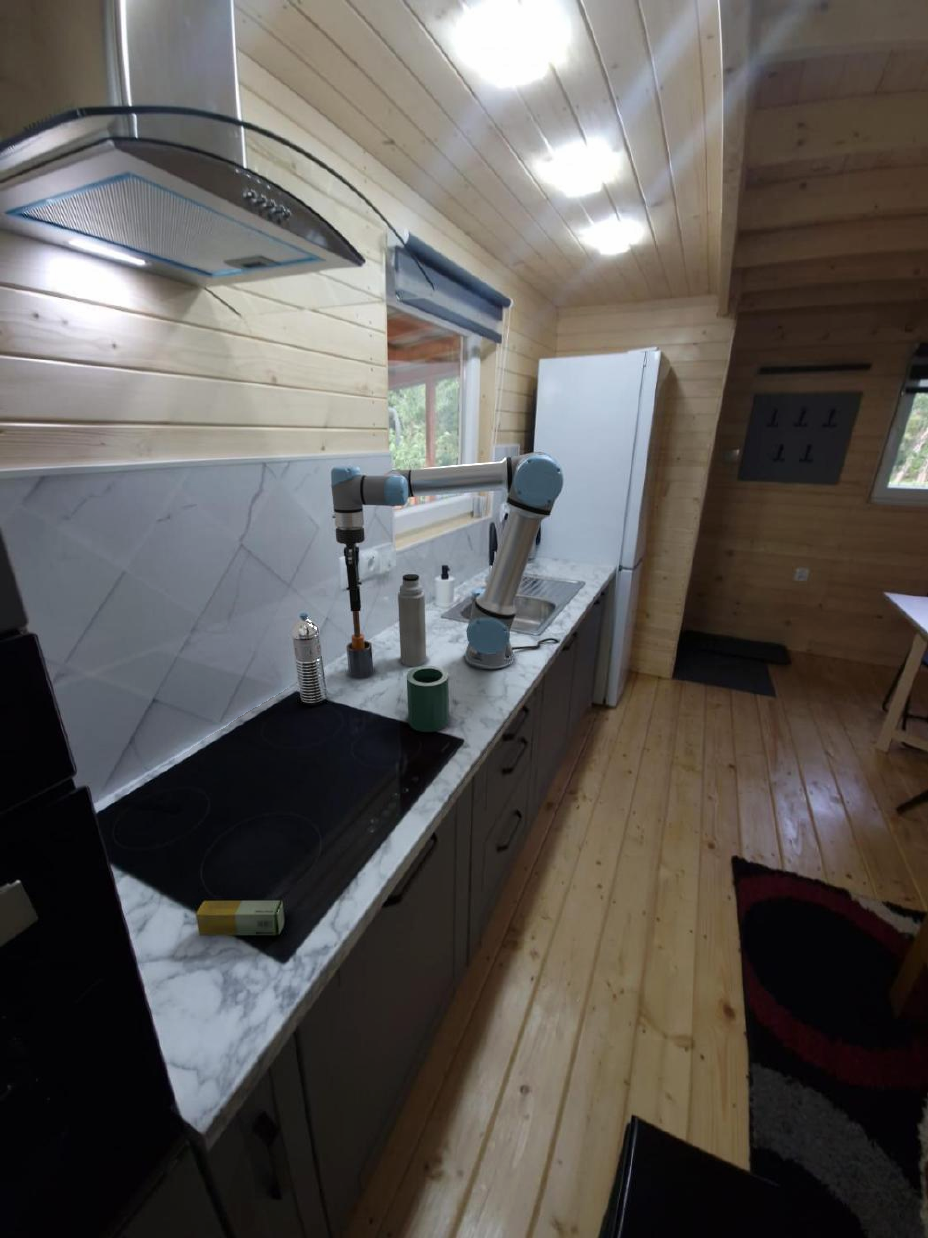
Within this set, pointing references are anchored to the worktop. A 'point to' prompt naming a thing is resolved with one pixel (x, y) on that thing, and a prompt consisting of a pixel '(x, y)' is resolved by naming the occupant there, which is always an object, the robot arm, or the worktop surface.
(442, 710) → the jar
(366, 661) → the holder
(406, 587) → the thermos bottle
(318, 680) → the water bottle
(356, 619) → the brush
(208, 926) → the medication box
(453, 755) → the worktop surface
